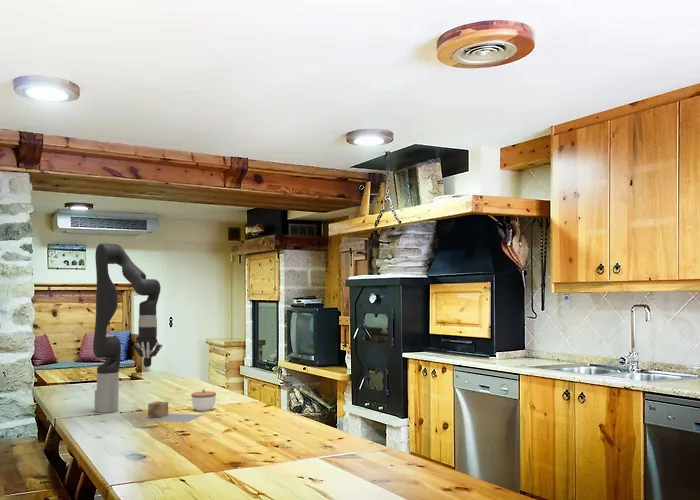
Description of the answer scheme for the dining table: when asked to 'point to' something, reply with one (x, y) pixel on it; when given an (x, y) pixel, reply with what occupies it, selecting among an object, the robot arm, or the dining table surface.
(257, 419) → the dining table surface
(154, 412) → the walnut cube
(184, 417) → the mat
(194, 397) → the lidded jar
